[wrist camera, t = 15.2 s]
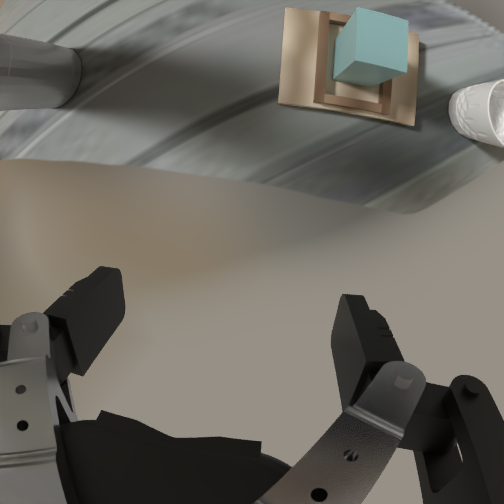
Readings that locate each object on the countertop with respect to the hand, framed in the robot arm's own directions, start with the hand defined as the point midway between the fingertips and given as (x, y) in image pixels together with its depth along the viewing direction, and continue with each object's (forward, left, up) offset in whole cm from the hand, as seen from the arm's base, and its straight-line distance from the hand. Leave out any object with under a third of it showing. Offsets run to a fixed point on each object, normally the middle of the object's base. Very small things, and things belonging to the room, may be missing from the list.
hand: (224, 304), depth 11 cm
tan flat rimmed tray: (+9, +15, -28) cm, 33 cm away
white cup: (+26, +13, -28) cm, 41 cm away
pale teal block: (+9, +15, -26) cm, 31 cm away
